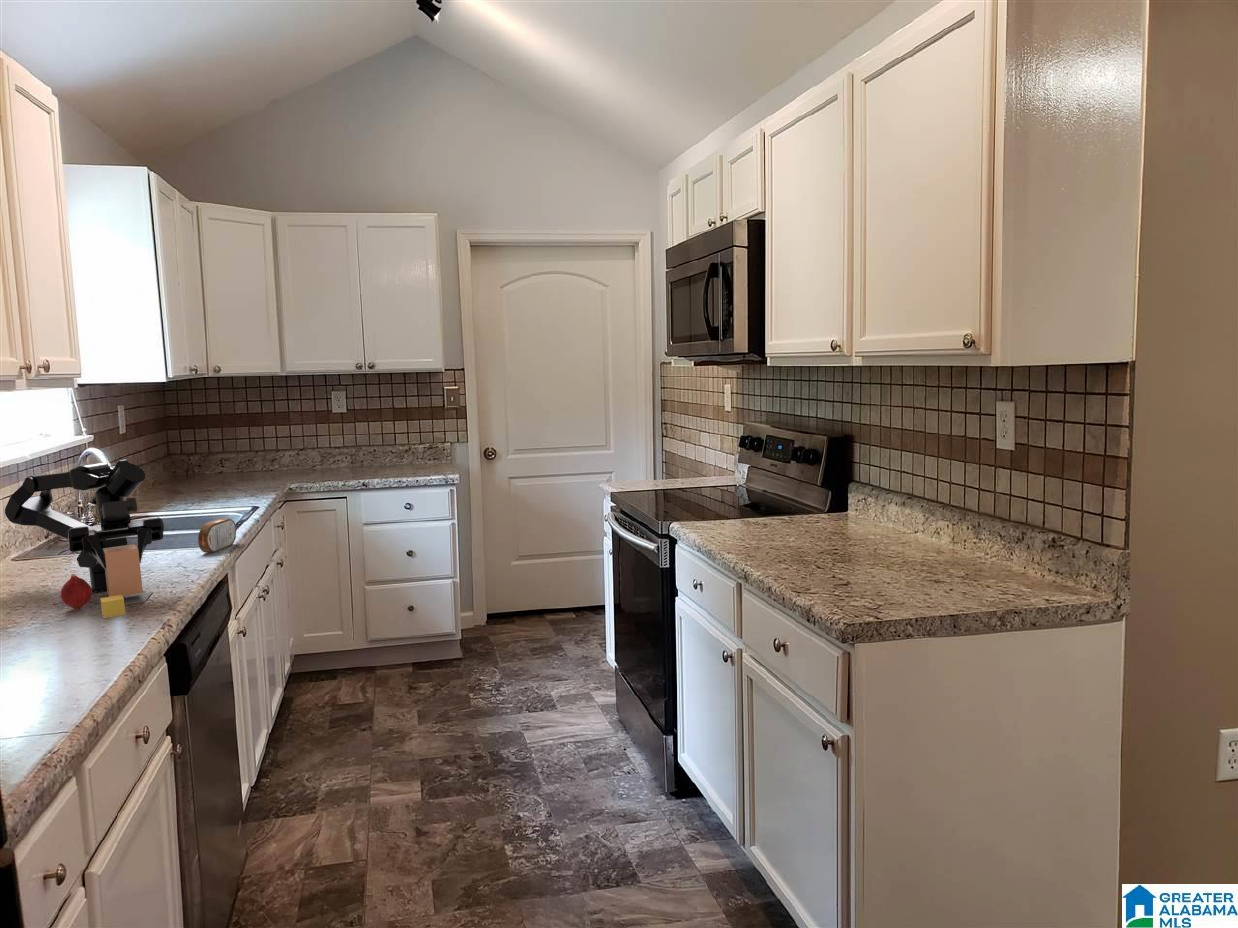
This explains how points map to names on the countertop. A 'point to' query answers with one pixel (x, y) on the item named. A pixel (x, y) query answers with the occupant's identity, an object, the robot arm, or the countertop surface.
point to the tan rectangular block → (123, 570)
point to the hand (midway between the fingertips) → (122, 564)
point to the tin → (217, 535)
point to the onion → (76, 592)
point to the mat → (135, 598)
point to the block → (112, 606)
